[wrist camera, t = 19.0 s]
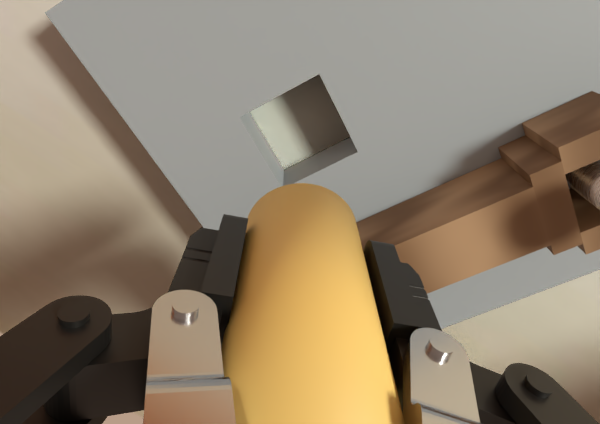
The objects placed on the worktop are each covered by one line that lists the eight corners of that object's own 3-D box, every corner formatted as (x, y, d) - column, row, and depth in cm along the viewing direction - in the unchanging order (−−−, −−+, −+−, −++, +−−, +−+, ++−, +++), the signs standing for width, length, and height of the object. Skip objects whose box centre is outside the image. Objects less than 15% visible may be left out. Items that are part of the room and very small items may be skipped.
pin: (374, 253, 15) (467, 583, 7) (279, 293, 15) (262, 633, 7) (326, 163, 13) (373, 453, 5) (223, 213, 14) (127, 533, 6)
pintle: (579, 154, 26) (712, 239, 17) (524, 178, 26) (627, 271, 18) (567, 105, 24) (705, 173, 16) (510, 132, 25) (614, 210, 17)
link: (622, 76, 21) (678, 95, 18) (640, 182, 24) (692, 214, 21) (248, 248, 25) (241, 286, 22) (298, 321, 28) (298, 364, 25)
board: (691, 201, 27) (726, 221, 25) (312, 349, 33) (313, 376, 31) (622, -362, 16) (674, -415, 14) (70, 8, 22) (44, 12, 20)
